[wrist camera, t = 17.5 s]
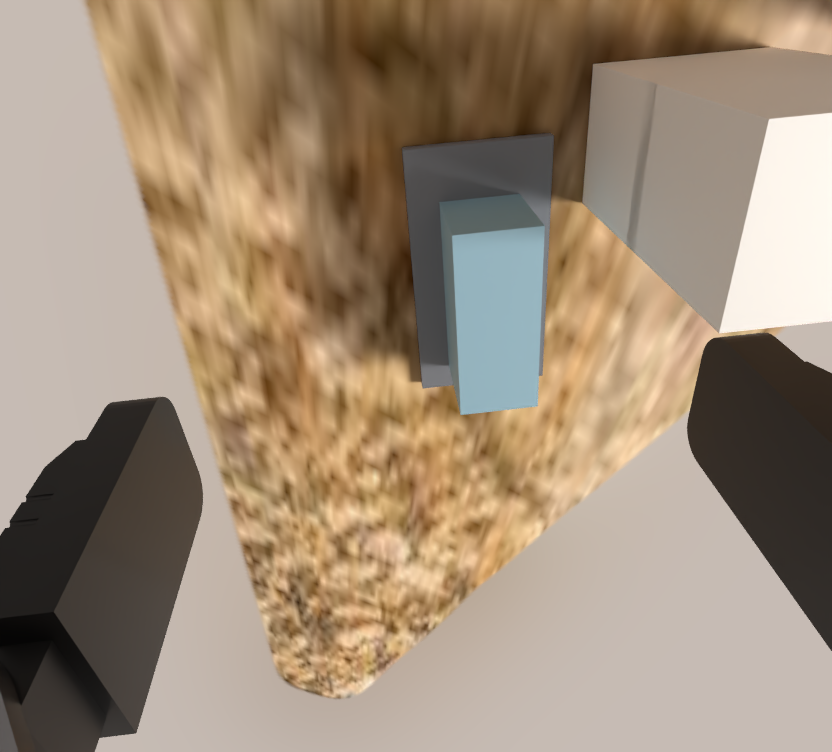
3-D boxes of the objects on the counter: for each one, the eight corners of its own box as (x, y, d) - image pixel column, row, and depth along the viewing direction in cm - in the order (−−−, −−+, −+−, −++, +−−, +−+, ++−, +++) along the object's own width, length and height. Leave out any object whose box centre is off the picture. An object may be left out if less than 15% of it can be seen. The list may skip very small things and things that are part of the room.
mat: (401, 147, 36) (402, 150, 35) (550, 132, 36) (553, 135, 35) (421, 382, 45) (422, 388, 44) (539, 369, 45) (542, 375, 44)
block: (439, 202, 37) (451, 235, 32) (519, 193, 37) (544, 225, 32) (448, 365, 43) (460, 414, 38) (516, 358, 43) (537, 406, 38)
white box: (593, 64, 34) (769, 118, 19) (771, 47, 34) (1077, 88, 20) (582, 203, 38) (719, 333, 24) (740, 187, 39) (971, 306, 24)
